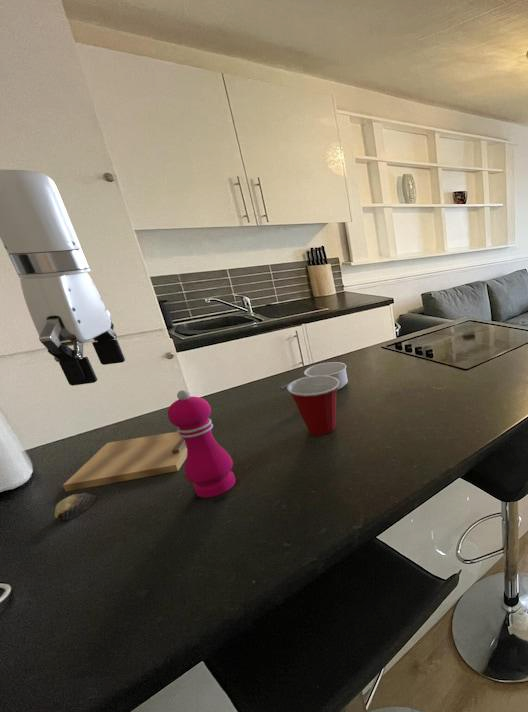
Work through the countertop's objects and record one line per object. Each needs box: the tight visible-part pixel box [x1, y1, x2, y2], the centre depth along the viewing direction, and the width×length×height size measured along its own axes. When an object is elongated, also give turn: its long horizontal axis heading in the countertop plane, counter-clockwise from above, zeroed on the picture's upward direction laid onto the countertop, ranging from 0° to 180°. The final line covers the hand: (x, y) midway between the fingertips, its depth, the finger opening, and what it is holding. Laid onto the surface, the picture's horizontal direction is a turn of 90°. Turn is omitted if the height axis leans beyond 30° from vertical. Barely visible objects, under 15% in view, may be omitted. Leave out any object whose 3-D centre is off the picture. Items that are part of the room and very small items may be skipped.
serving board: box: [62, 431, 187, 493], centre depth 86 cm, size 18×16×2 cm
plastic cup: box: [287, 375, 340, 437], centre depth 94 cm, size 11×11×12 cm
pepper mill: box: [167, 389, 236, 499], centre depth 73 cm, size 7×7×20 cm
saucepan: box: [279, 361, 349, 391], centre depth 115 cm, size 12×20×6 cm, turn 152°
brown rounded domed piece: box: [54, 492, 99, 522], centre depth 72 cm, size 6×5×3 cm
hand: (100, 372), depth 66 cm, fingers open, 9 cm apart
